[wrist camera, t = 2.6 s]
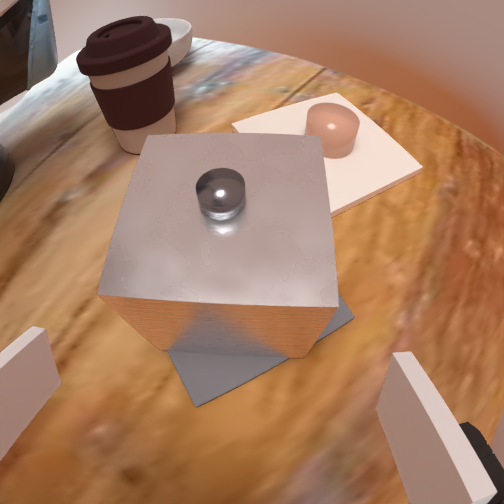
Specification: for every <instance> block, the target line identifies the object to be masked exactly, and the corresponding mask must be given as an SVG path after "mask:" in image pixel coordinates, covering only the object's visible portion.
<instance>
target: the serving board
mask: <svg viewBox="0 0 504 504" xmlns="http://www.w3.org/2000/svg"><path fill="white" fill-rule="evenodd" d="M318 103H335V104H339V105H342V106H345V107H347V108H349V109H350V110H352V111H353V112H354V113H355V114H356V115H357V116H358V118H359V121H360V125H359V129H358V133H357V136H356V140H355V144H354V147H353V150H352V152H351V153H350V154H349V155H348V156H346V157H344V158H339V159H330V158H325V157H324V164H325V171H326V178H327V186H328V194H329V202H330V211H331V218H332V217H334V216H336V215H338V214H340V213H342V212H344V211H346V210H348V209H350V208H352V207H354V206H356V205H358V204H360V203H362V202H363V201H365V200H367V199H369V198H371V197H373V196H375V195H377V194H379V193H381V192H383V191H385V190H387V189H389V188H391V187H393V186H395V185H397V184H399V183H401V182H403V181H405V180H407V179H409V178H411V177H413V176H415V175H417V174H419V173H420V172H421V170H422V168H423V167H422V166H421V165H420V164H419V163H418V162H417V161H416V160H415V159H414V158H413V157H412V156H411V155H410V154H409V153H408V152H407V151H406V150H405V149H403V148H402V147H401V146H400V145H399V144H398V143H397V142H396V141H395V140H394V139H393V138H391V137H390V136H389V135H388V134H387V133H386V132H385V131H384V130H382V129H381V128H380V127H379V126H378V125H377V124H375V123H374V122H373V121H372V120H371V119H370V118H368V117H367V116H366V115H365V114H363V113H362V112H361V111H360V110H359V109H357V108H356V107H355V106H354V105H352V104H351V103H350V102H349V101H347V100H346V99H345V98H343V97H342V96H341V95H339V94H338V93H333V94H329V95H325V96H321V97H318V98H314V99H310V100H306V101H303V102H299V103H296V104H292V105H289V106H285V107H282V108H278V109H275V110H272V111H269V112H265V113H262V114H259V115H256V116H253V117H250V118H247V119H244V120H241V121H238V122H235V123H232V124H231V125H232V131H233V132H234V133H270V134H293V135H305V127H306V120H307V112H308V110H309V108H310V107H311V106H313V105H315V104H318Z"/></svg>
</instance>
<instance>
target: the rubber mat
mask: <svg viewBox="0 0 504 504" xmlns="http://www.w3.org/2000/svg"><path fill="white" fill-rule="evenodd" d="M338 301H339V308H338V309H337V311H336V312H335V314H334V315H333V317H332V318H331V320H330V321H329V323H328V324H327V326H326V327H325V328H324V330H323V331H322V333H321V334H320V336H319V337H318V339H317V340H316V342H318V341H319V340H321V339H323V338H324V337H326V336H327V335H329V334H331V333H332V332H334V331H335V330H337V329H339V328H340V327H342V326H343V325H345V324H346V323H348V322H349V321H351V320H352V319H354V317H355V316H354V315H353V313H352V312H351V311H350V309H349V308H348V306H347V305H346V304H345V302H344V301H343V299H342V298H341V296H340V295H339V294H338ZM316 342H315V343H316ZM315 343H314V344H315ZM167 351H168V350H167ZM168 353H169V355H170V358H171V360H172V362H173V364H174V366H175V368H176V370H177V372H178V374H179V376H180V378H181V380H182V382H183V384H184V386H185V388H186V390H187V392H188V394H189V396H190V397H191V399H192V401H193V403H194V405H195V407H199V406H201V405H203V404H205V403H207V402H209V401H211V400H213V399H215V398H217V397H219V396H221V395H223V394H225V393H227V392H229V391H231V390H233V389H235V388H237V387H239V386H241V385H243V384H244V383H246V382H248V381H250V380H252V379H254V378H256V377H257V376H259V375H261V374H263V373H265V372H267V371H268V370H270V369H272V368H274V367H275V366H277V365H279V364H281V363H282V362H284V361H286V360H288V359H289V358H283V357H251V356H231V355H215V354H201V353H189V352H178V351H168Z"/></svg>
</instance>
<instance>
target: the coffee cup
mask: <svg viewBox="0 0 504 504" xmlns="http://www.w3.org/2000/svg"><path fill="white" fill-rule="evenodd" d="M171 44H172V35H171V29H170V28H169V27H168V26H167V25H165V24H160V23H155V21H154V20H153V19H152V18H150V17H148V16H136V17H130V18H126V19H122V20H118V21H115V22H113V23H110V24H108V25H106V26H103V27H101V28H99V29H98V30H96V31H95V32H93V33H92V34H91V35H90V36H89V37H88V39H87V43H86V46H85V47H84V48H83V49H82V50H81V51H80V52H79V54H78V55H77V58H76V61H77V64H78V67H79V70H80V72H81V73H82V74H84V75H86V76H88V77H89V79H90V86H91V89H92V91H93V93H94V95H95V97H96V100H97V102H98V104H99V106H100V108H101V110H102V112H103V115H104V117H105V119H106V121H107V123H108V124H109V126H110V127H112V129H113V131H114V133H115V135H116V137H117V139H118V142H119V144H120V146H121V147H122V148H123V149H124V150H125V151H127V152H130V153H134V154H141V151H142V148H143V146H144V143H145V141H146V138H147V136H148V135H163V134H175V131H176V121H175V113H174V103H175V97H174V88H173V78H172V69H171V60H170V57H169V55H168V48H169V47H170V46H171Z"/></svg>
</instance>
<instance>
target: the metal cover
mask: <svg viewBox="0 0 504 504" xmlns="http://www.w3.org/2000/svg"><path fill="white" fill-rule="evenodd" d="M97 295H98V296H99V297H100V298H101V299H102V300H103V301H104V302H105V303H106V304H107V305H109V306H110V307H111V308H112V309H113V310H114V311H115V312H116V313H117V314H118V315H119V316H121V317H122V318H123V319H124V320H125V321H126V322H127V323H128V324H129V325H131V326H132V327H133V328H134V329H135V330H136V331H137V332H139V333H140V334H141V335H142V336H143V337H144V338H146V339H147V340H148V341H149V342H150V343H151V344H153V345H154V346H155V347H156V348H157V349H159V350H168V351H178V352H189V353H201V354H215V355H231V356H251V357H283V358H304V357H305V356H306V354H307V353H308V351H309V350H310V349H311V347H312V346H313V344H314V343H315V342H316V340H317V339H318V337H319V336H320V334H321V333H322V331H323V330H324V328H325V327H326V326H327V324H328V323H329V321H330V320H331V318H332V317H333V315H334V314H335V312H336V311H337V309H338V308H339V301H338V286H337V273H336V260H335V249H334V239H333V229H332V219H331V211H330V202H329V194H328V186H327V178H326V171H325V164H324V157H323V150H322V144H321V137H320V136H310V135H293V134H270V133H185V134H163V135H148V136H147V138H146V141H145V143H144V146H143V148H142V151H141V154H140V156H139V159H138V161H137V164H136V167H135V169H134V172H133V175H132V178H131V180H130V183H129V186H128V189H127V192H126V195H125V198H124V201H123V204H122V207H121V210H120V213H119V216H118V219H117V222H116V226H115V229H114V232H113V236H112V239H111V242H110V246H109V249H108V253H107V257H106V260H105V264H104V268H103V272H102V275H101V279H100V283H99V287H98V292H97Z"/></svg>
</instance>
